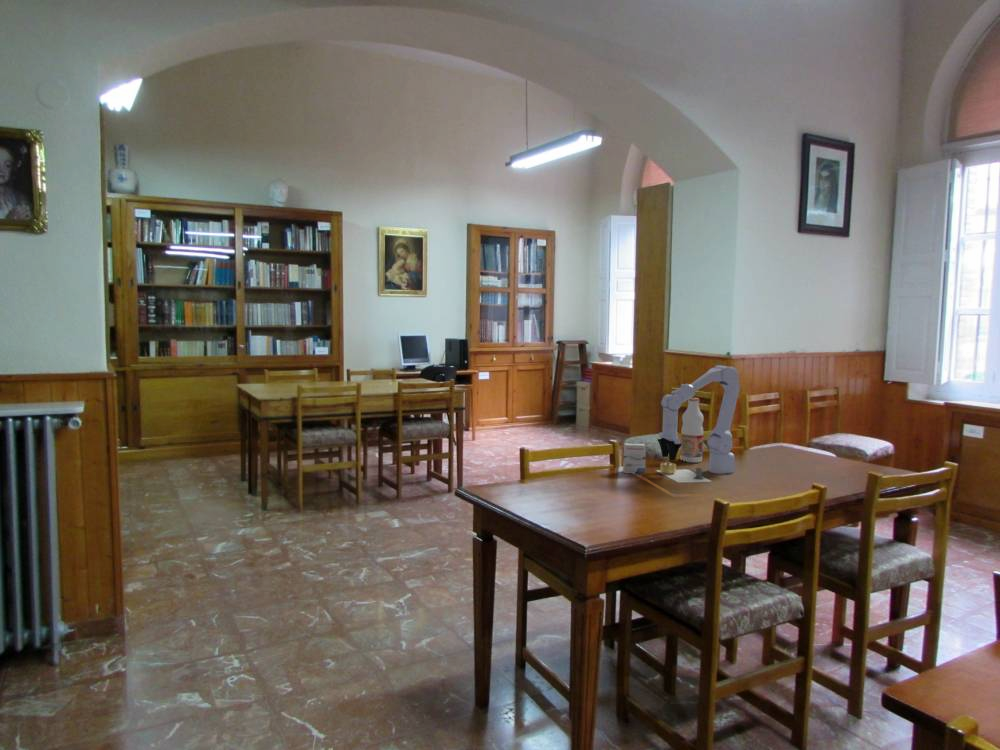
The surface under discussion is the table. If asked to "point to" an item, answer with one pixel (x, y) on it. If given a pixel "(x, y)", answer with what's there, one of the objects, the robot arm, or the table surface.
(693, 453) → the fruit juice
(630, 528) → the table surface
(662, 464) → the ring
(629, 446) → the ink box
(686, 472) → the board
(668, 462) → the hub
